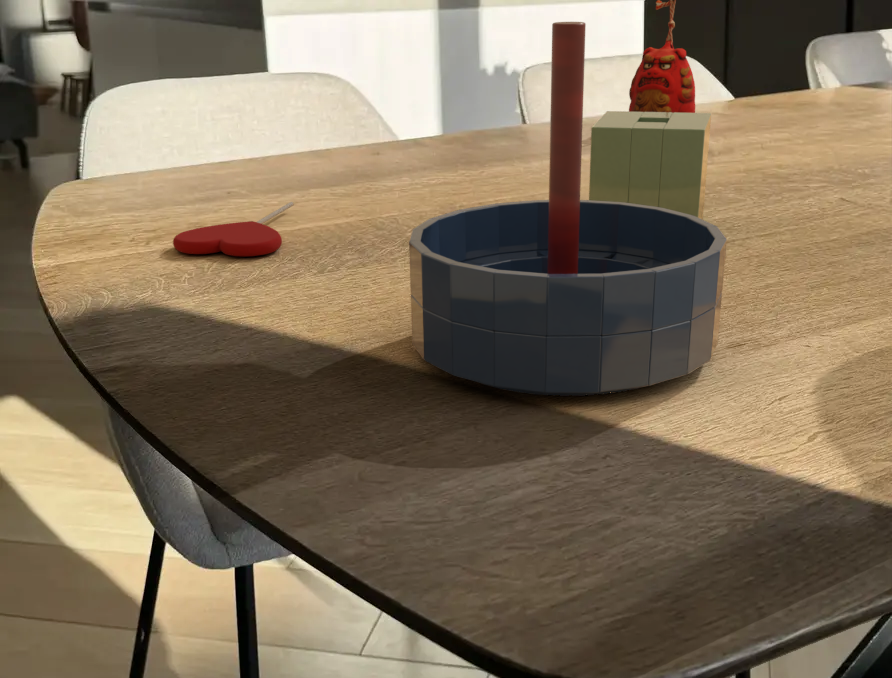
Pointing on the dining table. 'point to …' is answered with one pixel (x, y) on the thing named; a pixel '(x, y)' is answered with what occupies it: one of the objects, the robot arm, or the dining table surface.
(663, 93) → the red clay folk toy
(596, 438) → the dining table surface
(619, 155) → the block
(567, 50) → the stirring stick
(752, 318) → the dining table surface
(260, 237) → the lollipop
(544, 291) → the bowl
